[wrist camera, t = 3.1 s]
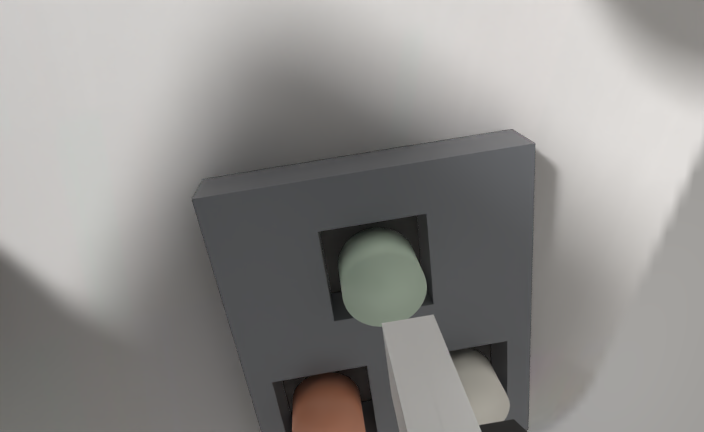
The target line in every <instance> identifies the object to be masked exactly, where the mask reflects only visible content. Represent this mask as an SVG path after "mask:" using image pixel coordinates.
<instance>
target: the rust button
mask: <svg viewBox="0 0 704 432" xmlns="http://www.w3.org/2000/svg"><path fill="white" fill-rule="evenodd" d="M292 432H366V431H365V424H364V417H363V411H362V404H361V398H360V392H359V389H358V387H357V385H356V384H355V382H354V381H353V380H351V379H350V378H348V377H347V376H344V375H342V374H338V373H331V372H329V373H323V374H317V375H312V376H310V377H308V378H307V379H305V380H304V381H302V382H301V383H300V384H299V385H298V386H297V388H296V389H295V391H294V394H293V404H292Z"/></svg>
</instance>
